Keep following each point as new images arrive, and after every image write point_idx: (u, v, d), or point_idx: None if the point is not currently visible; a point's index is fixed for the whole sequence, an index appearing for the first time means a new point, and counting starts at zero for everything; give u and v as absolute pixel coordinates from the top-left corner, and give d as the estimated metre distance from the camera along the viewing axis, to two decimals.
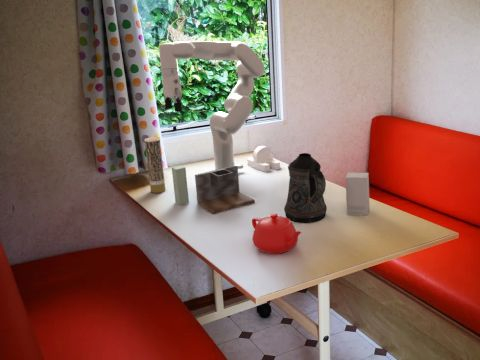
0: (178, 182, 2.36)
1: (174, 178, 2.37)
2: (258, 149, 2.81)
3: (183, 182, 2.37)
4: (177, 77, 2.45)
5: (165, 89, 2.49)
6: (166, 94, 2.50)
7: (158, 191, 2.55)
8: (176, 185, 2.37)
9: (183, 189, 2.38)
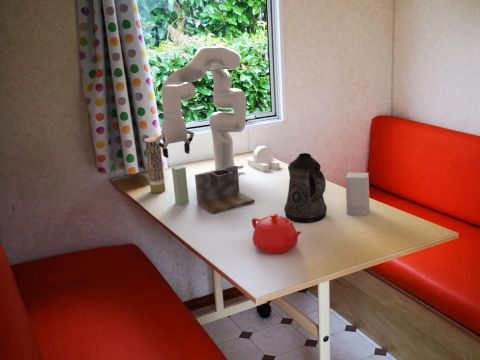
0: (178, 182, 2.36)
1: (174, 178, 2.37)
2: (258, 149, 2.81)
3: (183, 182, 2.37)
4: None
5: (174, 134, 2.29)
6: (174, 139, 2.30)
7: (158, 191, 2.55)
8: (176, 185, 2.37)
9: (183, 189, 2.38)
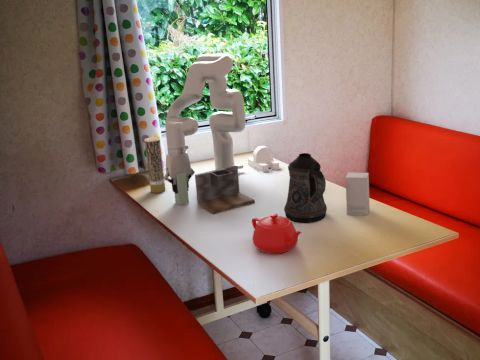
0: (178, 182, 2.36)
1: None
2: (258, 149, 2.81)
3: (183, 182, 2.37)
4: None
5: (177, 169, 2.34)
6: None
7: (158, 191, 2.55)
8: None
9: (183, 189, 2.38)
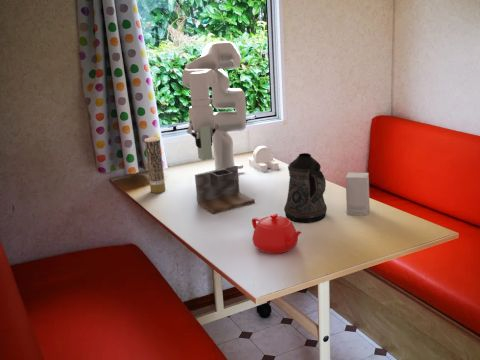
0: (202, 136, 2.27)
1: None
2: (257, 149, 2.81)
3: (206, 136, 2.28)
4: None
5: (201, 122, 2.26)
6: None
7: (158, 191, 2.55)
8: None
9: (206, 143, 2.29)
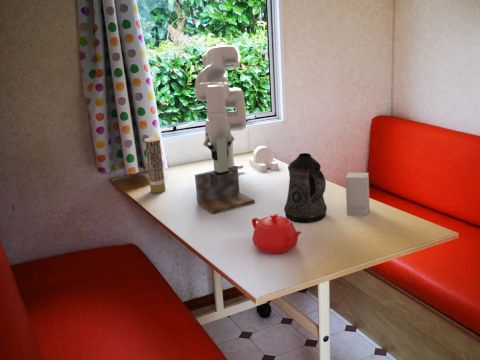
0: (218, 148, 2.28)
1: None
2: (257, 149, 2.81)
3: (223, 149, 2.29)
4: None
5: (218, 135, 2.26)
6: None
7: (158, 191, 2.55)
8: None
9: (223, 155, 2.30)
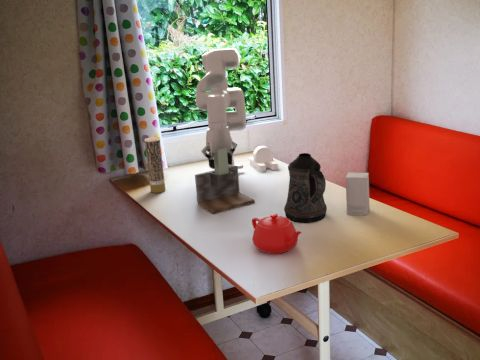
0: (219, 162, 2.30)
1: (215, 158, 2.31)
2: (257, 149, 2.81)
3: (224, 162, 2.31)
4: None
5: (218, 144, 2.27)
6: (219, 149, 2.28)
7: (158, 191, 2.55)
8: (217, 165, 2.31)
9: (224, 169, 2.32)
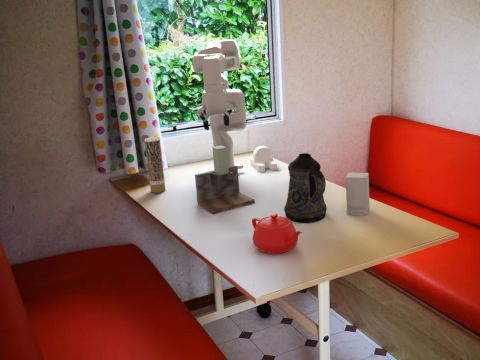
0: (219, 162, 2.30)
1: (215, 158, 2.31)
2: (257, 149, 2.82)
3: (224, 162, 2.31)
4: None
5: (214, 106, 2.30)
6: (215, 112, 2.31)
7: (158, 191, 2.55)
8: (217, 165, 2.31)
9: (224, 169, 2.32)
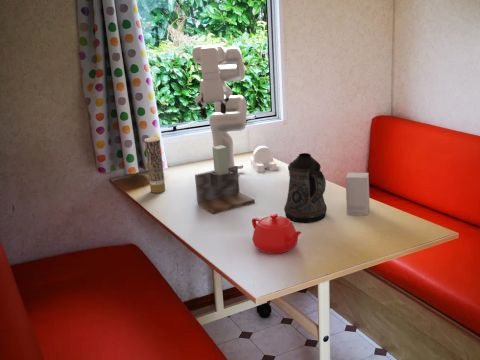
0: (219, 162, 2.30)
1: (215, 158, 2.31)
2: (257, 149, 2.82)
3: (224, 162, 2.31)
4: None
5: (211, 94, 2.41)
6: (212, 99, 2.42)
7: (158, 191, 2.55)
8: (217, 165, 2.31)
9: (224, 169, 2.32)
